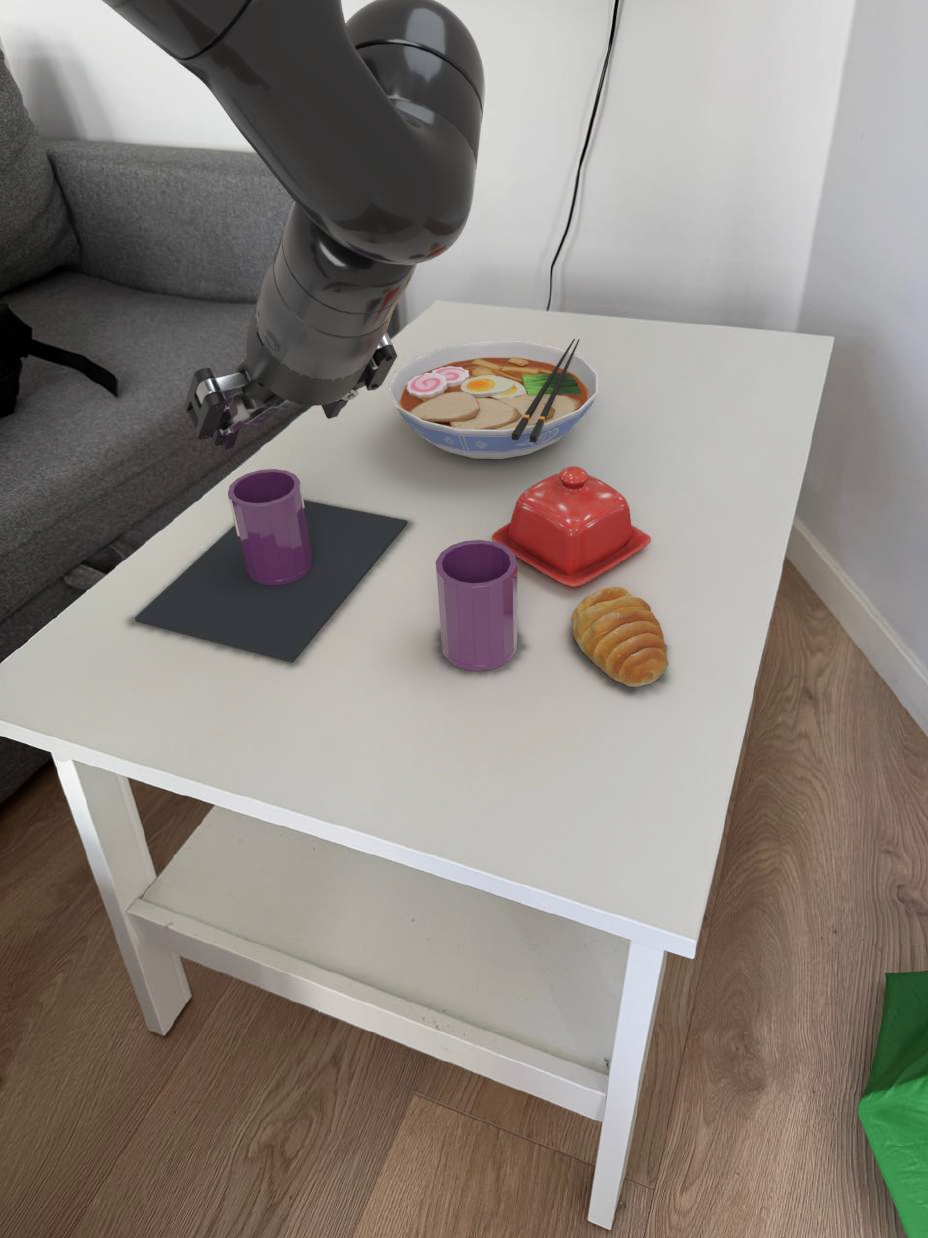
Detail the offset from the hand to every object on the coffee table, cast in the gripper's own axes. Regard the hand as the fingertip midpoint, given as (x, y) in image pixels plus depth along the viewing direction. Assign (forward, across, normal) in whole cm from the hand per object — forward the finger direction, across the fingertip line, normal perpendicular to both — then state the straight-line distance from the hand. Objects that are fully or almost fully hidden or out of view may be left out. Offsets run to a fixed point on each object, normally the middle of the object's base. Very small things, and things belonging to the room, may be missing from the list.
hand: (275, 421), depth 70 cm
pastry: (-2, -19, +27) cm, 33 cm away
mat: (+17, 0, +8) cm, 19 cm away
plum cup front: (+17, 0, +8) cm, 19 cm away
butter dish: (+8, -24, +17) cm, 31 cm away
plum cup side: (+3, -10, +22) cm, 24 cm away
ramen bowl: (+23, -30, +2) cm, 38 cm away
